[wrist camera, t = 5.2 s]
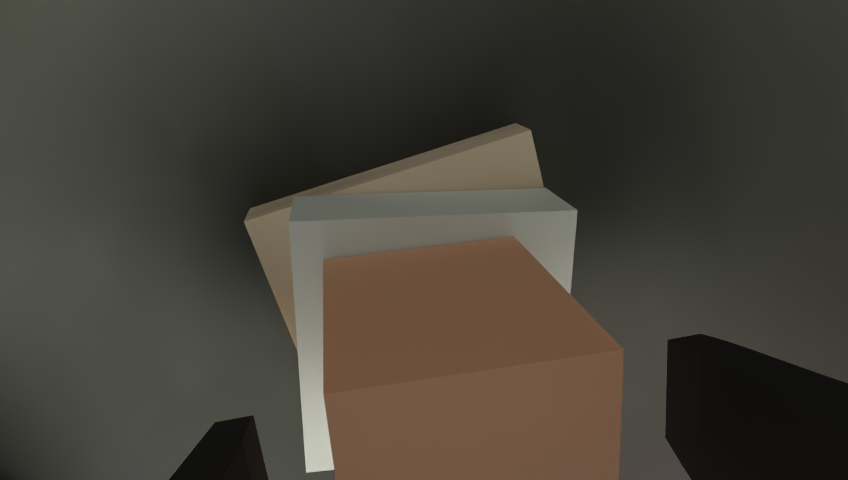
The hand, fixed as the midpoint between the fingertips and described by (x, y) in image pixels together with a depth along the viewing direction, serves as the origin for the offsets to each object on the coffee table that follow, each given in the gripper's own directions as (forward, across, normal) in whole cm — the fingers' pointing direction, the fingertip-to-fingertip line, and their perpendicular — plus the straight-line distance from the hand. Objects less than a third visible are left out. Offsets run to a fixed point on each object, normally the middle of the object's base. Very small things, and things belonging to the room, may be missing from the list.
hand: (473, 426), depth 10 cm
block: (+3, 0, 0) cm, 3 cm away
